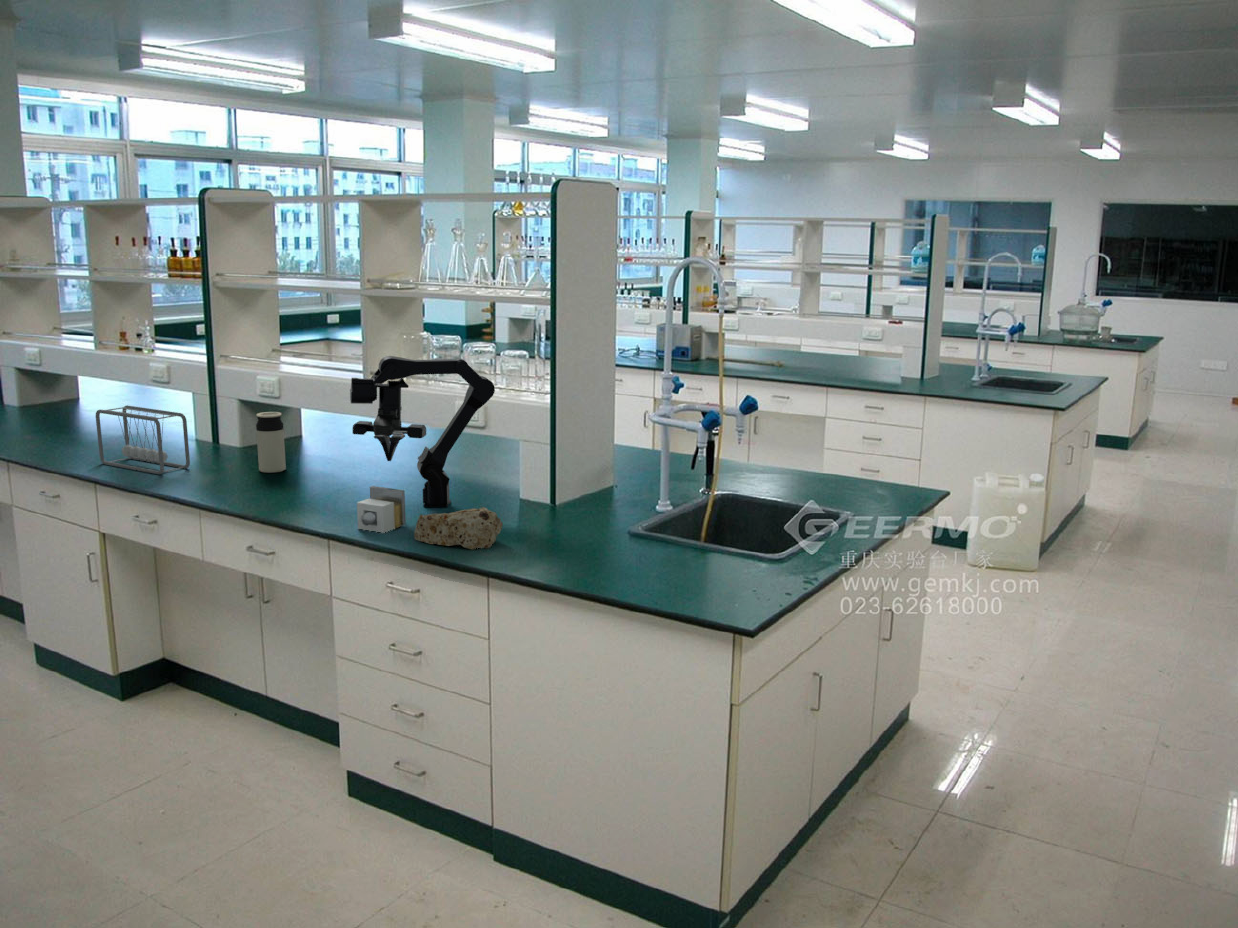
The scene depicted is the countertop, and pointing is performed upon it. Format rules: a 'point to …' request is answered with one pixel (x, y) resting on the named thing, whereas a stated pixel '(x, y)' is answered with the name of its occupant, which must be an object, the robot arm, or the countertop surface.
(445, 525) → the rock
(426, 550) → the countertop surface
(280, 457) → the travel mug
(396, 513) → the spacer
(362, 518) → the grey piece
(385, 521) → the block
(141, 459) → the newton's cradle
